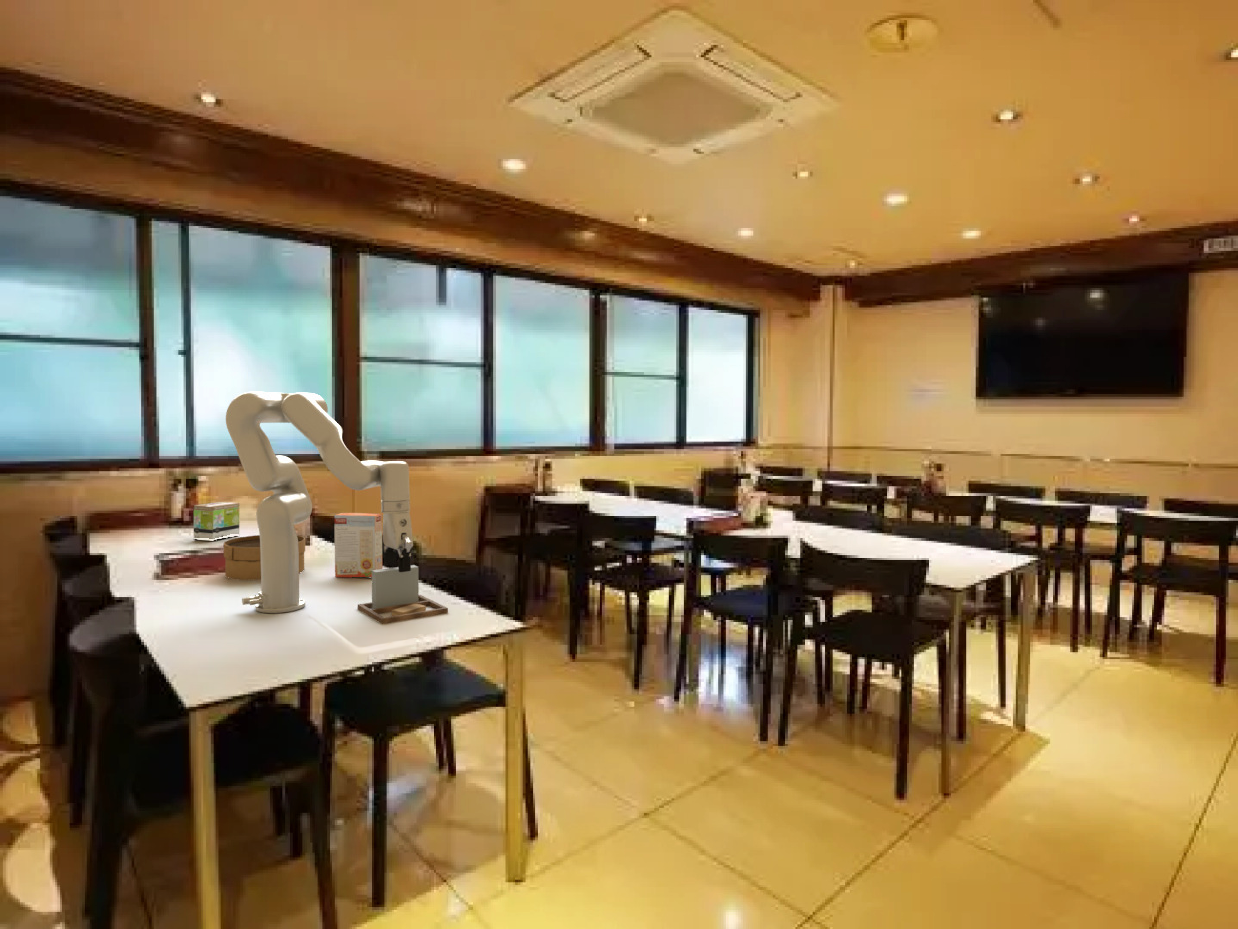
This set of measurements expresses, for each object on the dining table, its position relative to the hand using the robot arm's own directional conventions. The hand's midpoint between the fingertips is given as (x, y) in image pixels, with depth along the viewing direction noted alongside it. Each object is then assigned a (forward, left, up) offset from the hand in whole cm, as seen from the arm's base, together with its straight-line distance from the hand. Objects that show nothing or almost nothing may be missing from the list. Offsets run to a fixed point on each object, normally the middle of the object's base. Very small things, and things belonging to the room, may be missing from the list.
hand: (397, 568), depth 201 cm
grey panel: (0, 0, -12) cm, 12 cm away
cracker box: (+7, +48, -12) cm, 50 cm away
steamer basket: (-16, +72, -12) cm, 75 cm away
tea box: (-16, +151, -12) cm, 153 cm away
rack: (0, -4, -12) cm, 13 cm away
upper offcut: (0, -8, -11) cm, 14 cm away
